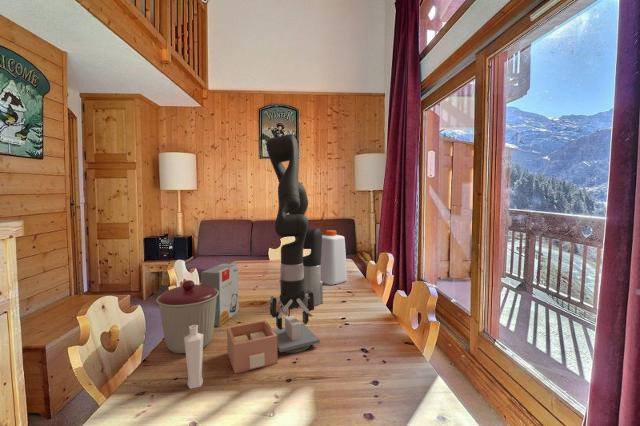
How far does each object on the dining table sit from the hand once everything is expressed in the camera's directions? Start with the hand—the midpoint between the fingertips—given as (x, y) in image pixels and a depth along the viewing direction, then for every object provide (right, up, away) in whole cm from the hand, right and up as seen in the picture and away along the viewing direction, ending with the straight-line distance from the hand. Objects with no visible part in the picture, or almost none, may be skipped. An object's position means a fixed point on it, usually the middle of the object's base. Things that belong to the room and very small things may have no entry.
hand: (292, 326), depth 99 cm
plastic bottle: (+15, -1, +71) cm, 72 cm away
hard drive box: (-30, -5, +20) cm, 36 cm away
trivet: (0, -6, 0) cm, 6 cm away
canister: (-33, -6, -1) cm, 33 cm away
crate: (-11, -6, -8) cm, 15 cm away
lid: (0, -4, 0) cm, 4 cm away
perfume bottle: (-23, -7, -21) cm, 32 cm away
